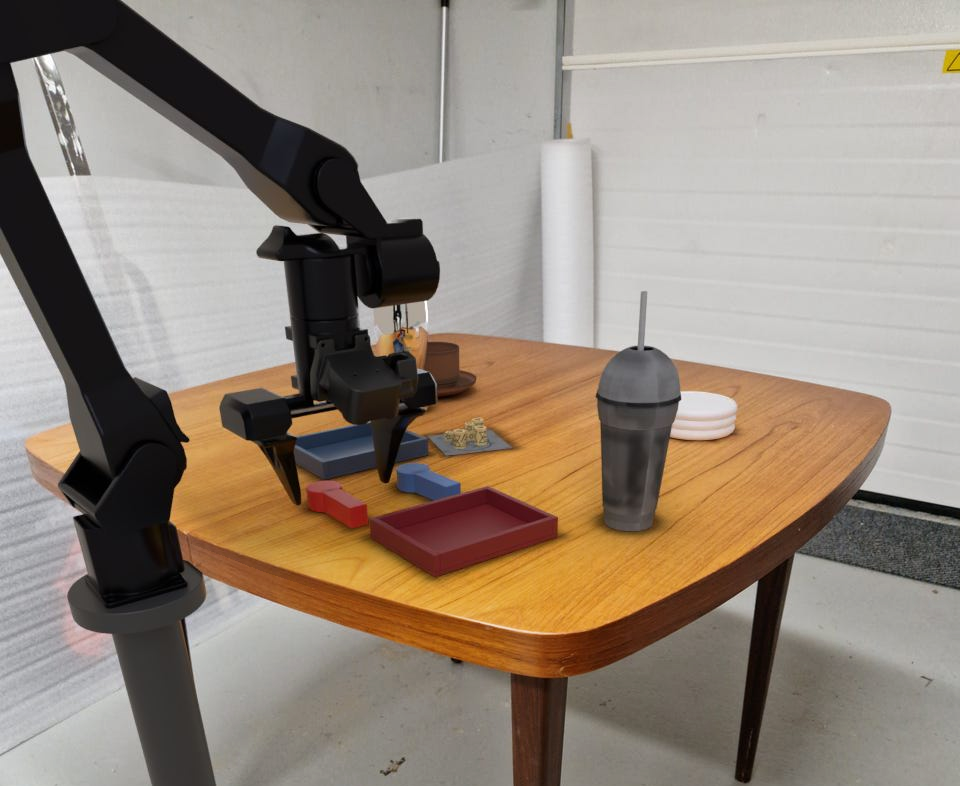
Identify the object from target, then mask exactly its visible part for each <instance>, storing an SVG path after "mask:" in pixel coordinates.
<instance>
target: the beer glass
mask: <svg viewBox="0 0 960 786" xmlns="http://www.w3.org/2000/svg"><path fill="white" fill-rule="evenodd" d="M372 326H373V335H374V342H375V347H376V351H377V357H378V356H384V355H386V356H387V357H388V355H389V354H391V353H397V352H403V351H409V352H410V353H411V354H412V355H413V356H414V357H415V358H416V364H417V368H418V369H421V370H424V371H425V362H426V355H427V346H428V342H429V312H428V302H427V301H422V302H415V303H408V304H401V305H394V306H387V307H380V308H372ZM422 408H425V409H426V411H428V409H429V406H426V407H422Z"/></svg>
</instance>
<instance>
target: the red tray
mask: <svg viewBox="0 0 960 786" xmlns="http://www.w3.org/2000/svg"><path fill="white" fill-rule="evenodd" d="M368 524H369V535H370V539H372V540H373V541H375V542H376V543H378V544H380V545H382V546H383V547H385V548H386V549H388V550H390V551H391V552H393V553H395V554H396V555H397V556H399V557H401V558H403V559H404V560H406V561H408V562H409V563H411V564H413V565H414V566H416V567H417V568H419V569H420V570H422V571H424V572H425V573H427V574H429V575H430V576H432V577H434V578H436V577H439V576H442V575H446V574H448V573H452V572H455V571H457V570H461V569H463V568H464V569H465V568H467V567H470V566H473V565H477V564H479V563H482V562H485V561H489V560H492V559H494V558H498V557H501V556H503V555H506V554H509V553H512V552H516V551H519V550H522V549H524V548H528V547H531V546H534V545H538V544H540V543H543V542H546V541H549V540H553V539H555V538H558V532H559V531H558V529H559V517H558V516H556V515H554V514H553V513H550V512H547V511H545V510H543V509H541V508H539V507H536V506H535V505H532V504H529V503H528V502H525V501H522V500H520V499H518V498H516V497H514V496H511V495H510V494H507V493H505V492H503V491H500V490H498V489H496V488H494V487H491V486H489V485H487V486H482V487H479V488H475V489H472V490H468V491H465V492H461V493H460V494H457V495H453V496H449V497H446V498H442V499H438V500H435V501H433V500H431V501H428V502H424V503H420V504H417V505H412V506H410V507H406V508H402V509H398V510H395V511H390V512H387V513H384V514H383V513H382V514H380V515H379V514H378V515H376V516H373V517H369V518H368Z"/></svg>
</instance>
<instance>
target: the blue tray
mask: <svg viewBox="0 0 960 786" xmlns="http://www.w3.org/2000/svg"><path fill="white" fill-rule="evenodd" d="M295 436H296V437H297V441H296V444H295V448H294V456H295V462H296V466H299V467H301V468H303V470H305V471H307V472H309V473H312V474H313V475H315V476H317V477H318V478H320V479H322V480H323V481H327V480H329V479H334V478H338V477H342V476H346V475H350V474H355V473H360V472H362V471H368V470H371V469H377V466H376V459H375V451H374V444H373V436H372V428H371V421H369V422H368V423H367V424H363V425H353V424H350V425H345V426H341V427H336V428H330V429H325V430H321V431H316V432H311V433H306V434H301V435H295ZM429 455H430V451H429V438H428V437H425V436H423V435H420V434H418V433H415V432H413V431H411V430H408V429H406V431H405V434H404V436H403V438H402V441H401V444H400V447H399V451H398V454H397V457H396V461H395V464H396V463H401V462H406V461H409V460H413V459H417V458H423V457H426V456H429Z"/></svg>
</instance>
